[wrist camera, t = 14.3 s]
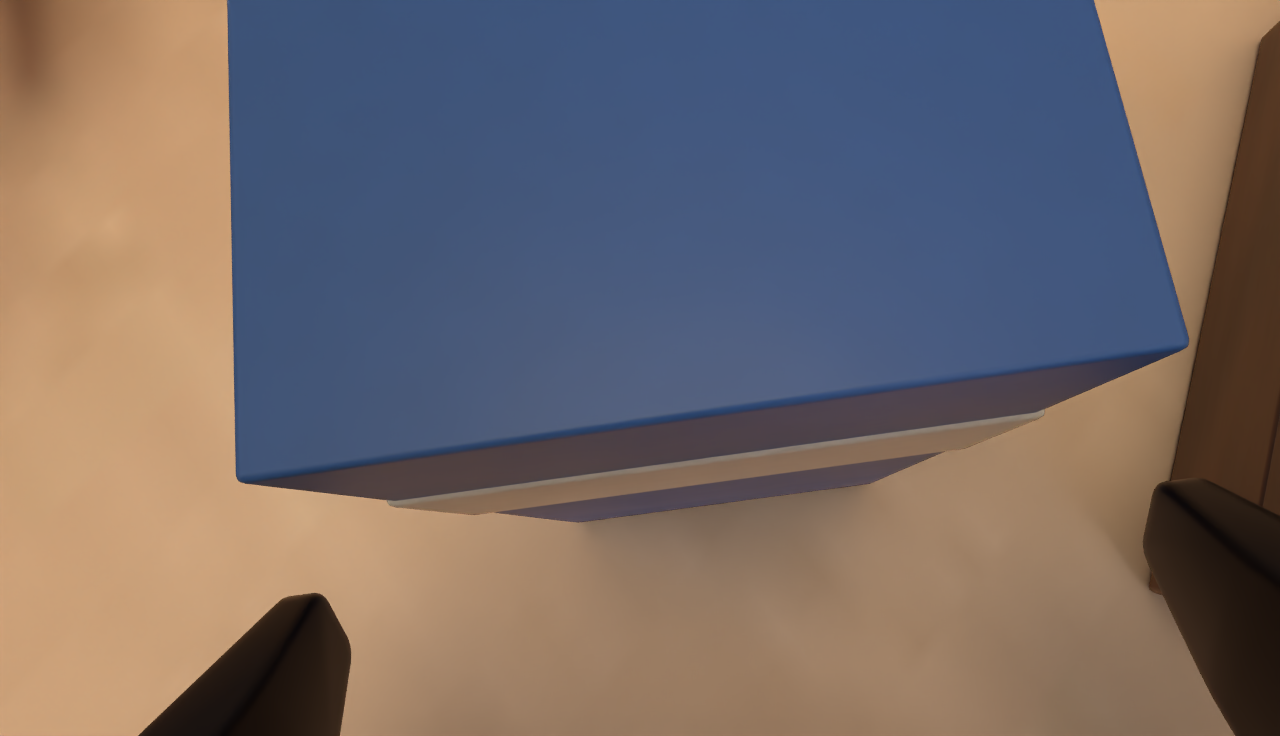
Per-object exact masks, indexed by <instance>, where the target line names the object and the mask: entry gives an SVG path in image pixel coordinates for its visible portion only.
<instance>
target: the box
mask: <svg viewBox="0 0 1280 736" xmlns="http://www.w3.org/2000/svg"><path fill="white" fill-rule="evenodd" d="M227 9H228V64H229V119H230V175H231V230H232V285H233V341H234V396H235V451H236V477H237V479H238V481H239V482H242V483H245V484H253V485H262V486H270V487H279V488H287V489H296V490H305V491H313V492H322V493H330V494H339V495H347V496H356V497H364V498H373V499H381V500H387V502H388V504H389V506H393V507H397V508H407V509H417V510H427V511H437V512H448V513H458V514H468V515H478V514H486V513H501V514H510V515H518V516H527V517H535V518H544V519H552V520H561V521H570V522H585V521H593V520H600V519H608V518H615V517H623V516H630V515H638V514H645V513H653V512H660V511H668V510H675V509H683V508H690V507H698V506H705V505H713V504H720V503H728V502H735V501H743V500H750V499H758V498H765V497H773V496H780V495H788V494H795V493H803V492H810V491H818V490H825V489H833V488H840V487H848V486H855V485H863V484H870V483H872V482H875V481H877V480H879V479H882V478H884V477H886V476H889V475H891V474H893V473H896V472H898V471H900V470H903V469H905V468H907V467H910V466H912V465H914V464H917V463H919V462H921V461H924V460H926V459H928V458H931V457H933V456H935V455H938V454H940V453H942V452H945V451H951V450H958V449H965V448H967V447H970V446H972V445H975V444H977V443H980V442H982V441H985V440H987V439H990V438H992V437H995V436H997V435H1000V434H1002V433H1004V432H1007V431H1009V430H1012V429H1014V428H1017V427H1019V426H1022V425H1024V424H1027V423H1029V422H1032V421H1034V420H1037V419H1039V418H1040V417H1042V416H1044V412H1045V409H1046V408H1048V407H1050V406H1053V405H1055V404H1057V403H1060V402H1062V401H1064V400H1067V399H1069V398H1071V397H1074V396H1076V395H1078V394H1081V393H1083V392H1085V391H1088V390H1090V389H1092V388H1095V387H1097V386H1099V385H1102V384H1104V383H1106V382H1109V381H1111V380H1113V379H1116V378H1118V377H1120V376H1123V375H1125V374H1128V373H1130V372H1132V371H1135V370H1137V369H1139V368H1142V367H1144V366H1146V365H1149V364H1151V363H1153V362H1156V361H1158V360H1160V359H1163V358H1165V357H1167V356H1170V355H1172V354H1174V353H1177V352H1179V351H1181V350H1183V349H1185V348H1186V347H1187V346H1188V344H1189V337H1188V333H1187V330H1186V326H1185V323H1184V319H1183V316H1182V312H1181V309H1180V305H1179V302H1178V298H1177V294H1176V291H1175V287H1174V284H1173V280H1172V277H1171V273H1170V270H1169V266H1168V262H1167V259H1166V255H1165V252H1164V248H1163V245H1162V241H1161V238H1160V234H1159V230H1158V227H1157V223H1156V220H1155V216H1154V213H1153V209H1152V206H1151V202H1150V199H1149V195H1148V191H1147V188H1146V184H1145V181H1144V177H1143V174H1142V170H1141V167H1140V163H1139V159H1138V156H1137V152H1136V149H1135V145H1134V142H1133V138H1132V135H1131V131H1130V127H1129V124H1128V120H1127V117H1126V113H1125V110H1124V106H1123V103H1122V99H1121V96H1120V92H1119V88H1118V85H1117V81H1116V78H1115V74H1114V71H1113V67H1112V64H1111V60H1110V56H1109V53H1108V49H1107V46H1106V42H1105V39H1104V35H1103V32H1102V28H1101V24H1100V21H1099V17H1098V14H1097V10H1096V7H1095V3H1094V0H227Z"/></svg>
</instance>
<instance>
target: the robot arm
mask: <svg viewBox="0 0 1280 736" xmlns="http://www.w3.org/2000/svg"><path fill="white" fill-rule="evenodd" d="M1143 548H1144V554H1145V557H1146V560H1147V563H1148V565H1149V567H1150V569H1151V571H1152V573H1153V575H1154V577H1155V580H1156V582H1157V584H1158V586H1159V588H1160V590H1161V592H1162V594H1163V596H1164V598H1165V601H1166V603H1167V605H1168V607H1169V609H1170V611H1171V613H1172V615H1173V617H1174V619H1175V621H1176V624H1177V626H1178V628H1179V630H1180V632H1181V634H1182V636H1183V638H1184V640H1185V642H1186V645H1187V647H1188V649H1189V651H1190V653H1191V655H1192V657H1193V659H1194V661H1195V663H1196V665H1197V668H1198V670H1199V672H1200V674H1201V676H1202V678H1203V680H1204V682H1205V684H1206V686H1207V688H1208V689H1209V691H1210V693H1211V695H1212V697H1213V699H1214V701H1215V702H1216V704H1217V706H1218V708H1219V709H1220V711H1221V713H1222V714H1223V716H1224V718H1225V720H1226V721H1227V723H1228V724H1229V726H1230V728H1231V729H1232V731H1233V733H1234V734H1235V736H1280V516H1279V515H1277V514H1275V513H1273V512H1271V511H1269V510H1267V509H1265V508H1263V507H1261V506H1259V505H1257V504H1255V503H1253V502H1251V501H1249V500H1247V499H1245V498H1243V497H1241V496H1239V495H1237V494H1235V493H1233V492H1231V491H1229V490H1227V489H1225V488H1223V487H1221V486H1219V485H1217V484H1215V483H1213V482H1211V481H1209V480H1206V479H1203V478H1188V479H1180V480H1172V481H1165V482H1162V483H1160V484H1158V485H1157V487H1156V488H1155V489H1154V492H1153V495H1152V499H1151V504H1150V509H1149V513H1148V518H1147V523H1146V528H1145V532H1144V538H1143ZM350 664H351V648H350V643H349V640H348V637H347V635H346V634H345V632H344V630H343V628H342V626H341V624H340V623H339V621H338V619H337V617H336V615H335V613H334V611H333V610H332V608H331V606H330V604H329V602H328V601H327V599H326V598H325V597H324V596H323V595H321V594H318V593H311V594H303V595H295V596H289V597H286V598H284V599H282V600H281V601H279V602H278V603H277V604H276V605H275V606H274V607H273V608H272V609H271V610H270V611H268V612H267V613H266V614H265V615H264V616H263V617H262V618H261V619H260V620H259V621H258V622H257V623H256V624H255V625H254V626H253V627H252V628H251V629H250V630H249V631H248V632H246V633H245V634H244V635H243V636H242V637H241V638H240V639H239V640H238V641H237V642H236V643H235V644H234V645H233V646H232V647H231V648H230V649H229V650H228V651H227V652H225V653H224V654H223V655H222V656H221V657H220V658H219V659H218V660H217V661H216V662H215V663H214V664H213V665H212V666H211V667H210V668H209V669H208V670H207V671H206V672H204V673H203V674H202V675H201V676H200V677H199V678H198V679H197V680H196V681H195V682H194V683H193V684H192V685H191V686H190V687H189V688H188V689H187V690H186V691H185V692H184V693H182V694H181V695H180V696H179V697H178V698H177V699H176V700H175V701H174V702H173V703H172V704H171V705H170V706H169V707H168V708H167V709H166V710H165V711H164V712H163V713H161V714H160V715H159V716H158V717H157V718H156V719H155V720H154V721H153V722H152V723H151V724H150V725H149V726H148V727H147V728H146V729H145V730H144V731H143V732H142V733H140V734H139V735H138V736H340V731H341V724H342V717H343V711H344V704H345V697H346V691H347V684H348V677H349V671H350Z"/></svg>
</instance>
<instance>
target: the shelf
mask: <svg viewBox="0 0 1280 736" xmlns="http://www.w3.org/2000/svg"><path fill="white" fill-rule="evenodd" d="M1188 478H1203V479H1206V480H1209V481H1211V482H1213V483H1215V484H1217V485H1219V486H1221V487H1223V488H1225V489H1227V490H1229V491H1231V492H1233V493H1235V494H1237V495H1239V496H1241V497H1243V498H1245V499H1247V500H1249V501H1251V502H1253V503H1255V504H1257V505H1259V506H1261V507H1263V508H1265V509H1267V510H1269V511H1271V512H1273V513H1275V514H1277V515H1279V516H1280V21H1279V22H1278V23H1277V24H1276V25H1275V26H1274V27H1273V28H1272V29H1271V30H1270V31H1269V32H1268V33H1267V34H1266V35H1265V36H1264V37H1263V38H1262V40H1261V44H1260V49H1259V54H1258V59H1257V64H1256V69H1255V74H1254V79H1253V83H1252V88H1251V93H1250V98H1249V103H1248V108H1247V113H1246V117H1245V122H1244V127H1243V132H1242V137H1241V142H1240V147H1239V152H1238V156H1237V161H1236V166H1235V171H1234V176H1233V181H1232V186H1231V191H1230V195H1229V200H1228V205H1227V210H1226V215H1225V220H1224V225H1223V230H1222V234H1221V239H1220V244H1219V249H1218V254H1217V259H1216V264H1215V268H1214V273H1213V278H1212V283H1211V288H1210V293H1209V298H1208V303H1207V307H1206V312H1205V317H1204V322H1203V327H1202V332H1201V337H1200V342H1199V346H1198V351H1197V356H1196V361H1195V366H1194V371H1193V376H1192V381H1191V385H1190V390H1189V395H1188V400H1187V405H1186V410H1185V415H1184V419H1183V424H1182V429H1181V434H1180V439H1179V444H1178V449H1177V454H1176V458H1175V463H1174V468H1173V473H1172V478H1171V481H1172V480H1180V479H1188ZM1149 588H1150V590H1151V591H1153V592H1155V593H1158V594H1161V595H1163V594H1162V592H1161V590H1160V588H1159V586H1158V584H1157V582H1156V580H1155V577H1154V575H1153V573H1152V575H1151V580H1150V585H1149Z"/></svg>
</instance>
